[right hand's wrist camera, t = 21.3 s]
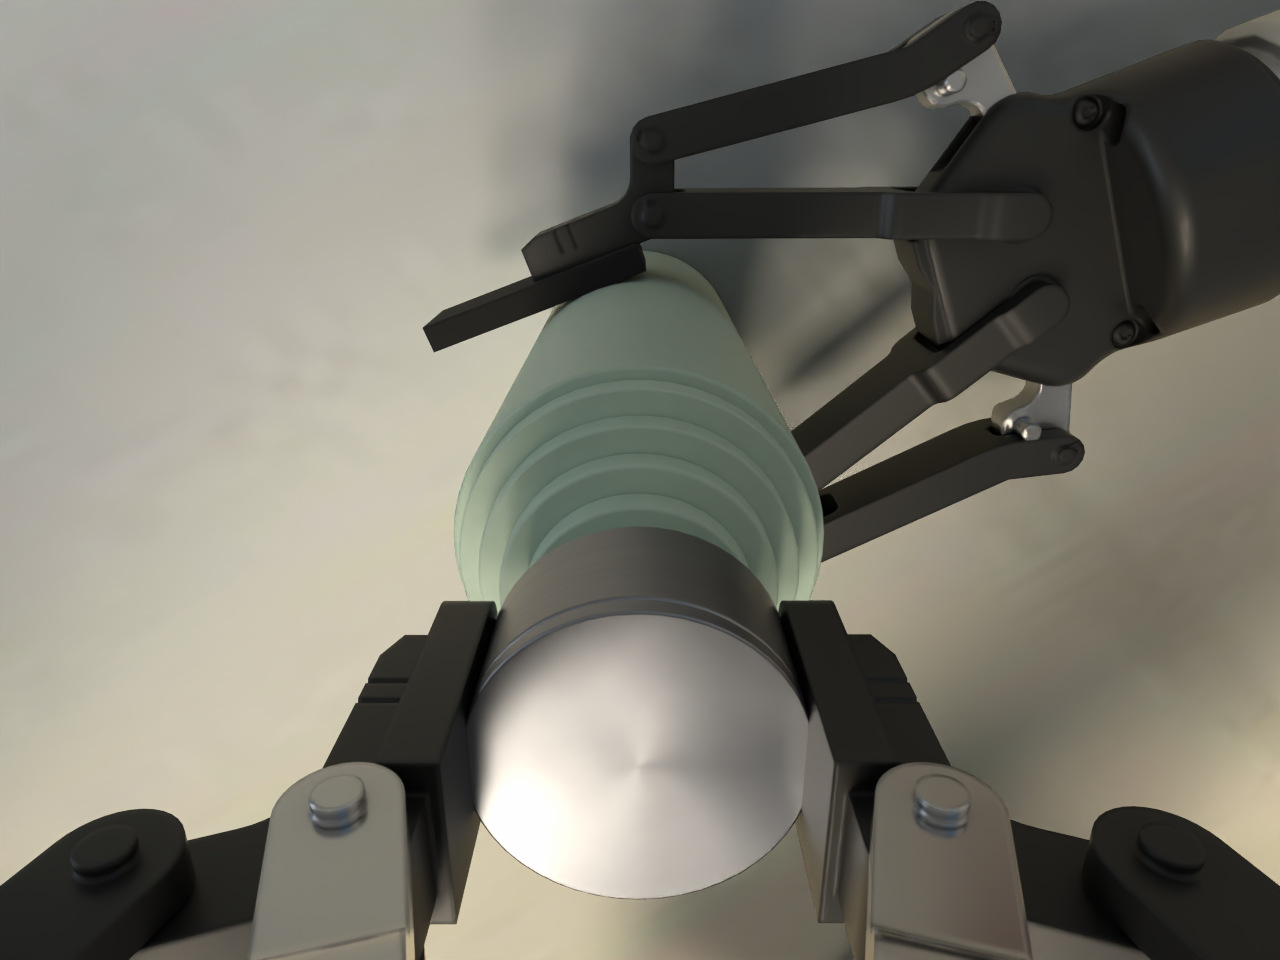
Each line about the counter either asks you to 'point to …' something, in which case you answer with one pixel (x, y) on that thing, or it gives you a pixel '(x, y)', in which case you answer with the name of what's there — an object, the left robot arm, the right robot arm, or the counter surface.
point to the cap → (638, 717)
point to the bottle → (639, 441)
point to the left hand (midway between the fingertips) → (492, 443)
